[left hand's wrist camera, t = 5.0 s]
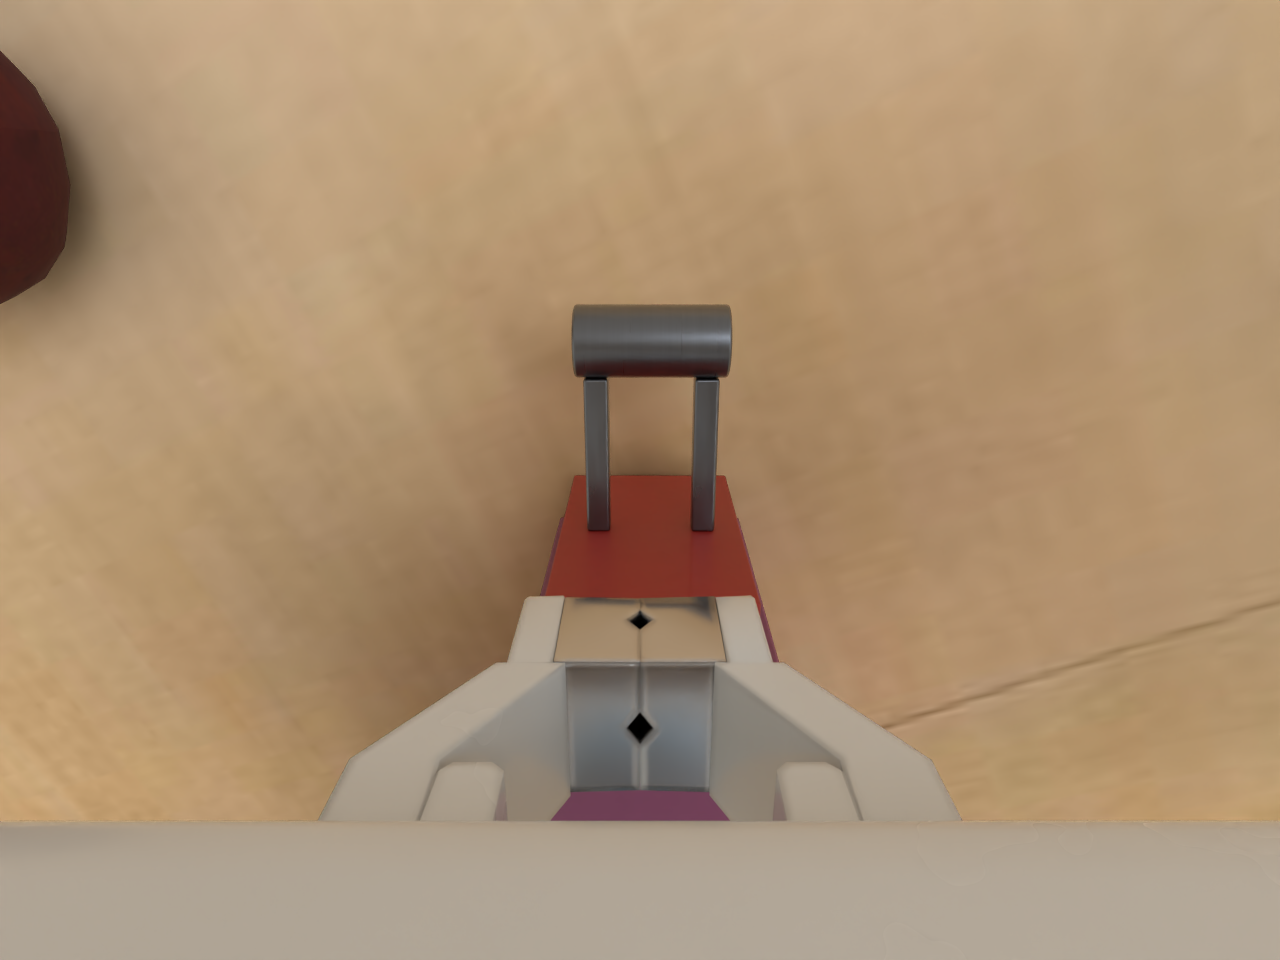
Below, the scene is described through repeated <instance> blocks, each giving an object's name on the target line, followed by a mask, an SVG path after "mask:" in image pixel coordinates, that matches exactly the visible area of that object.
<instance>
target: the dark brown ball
mask: <svg viewBox="0 0 1280 960" xmlns="http://www.w3.org/2000/svg"><path fill="white" fill-rule="evenodd" d="M69 194H70V182H69V177H68V172H67V168H66V163H65V158H64V153H63V149H62V144H61V139H60V135H59V130H58V128H57V126H56V124H55V122H54V121H53V119H52V117H51V115H50V113H49V112H48V110H47V108H46V106H45V104H44V103H43V101H42V99H41V97H40V95H39V94H38V92H37V90H36V88H35V86H34V85H33V84H32V83H31V82H30V81H29V80H28V79H27V78H26V77H25V76H24V75H23V74H22V73H21V72H20V71H19V70H18V69H17V67H16V66H15V65H14V64H13V63H12V62H11V61H10V60H9V59H8V58H7V57H6V56H5V55H4V54H3V53H2V52H1V51H0V304H1V303H3V302H5V301H7V300H9V299H11V298H13V297H15V296H17V295H19V294H20V293H22V292H24V291H25V290H27V289H28V288H30V287H32V286H33V285H35V284H36V283H38V282H40V281H41V280H43V279H44V278H45V277H46V276H47V274H48V272H49V271H50V269H51V268H52V266H53V264H54V263H55V261H56V260H57V258H58V256H59V255H60V253H61V252H62V250H63V249H64V245H65V239H66V233H67V221H68V208H69Z"/></svg>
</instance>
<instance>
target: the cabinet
mask: <svg viewBox="0 0 1280 960" xmlns="http://www.w3.org/2000/svg"><path fill="white" fill-rule="evenodd" d="M563 521H564V517H562V518H561V519H560V522H559V526H558V529H557V533H556V536H555V540H554V544H553V548H552V552H551V556H550V560H549V564H548V567H547V571H546V575H545V579H544V583H543V587H542V591H541V594H540V596H545V593H546V589H547V585H548V581H549V577H550V573H551V569H552V565H553V561H554V557H555V553H556V549H557V545H558V541H559V537H560V533H561V529H562V525H563ZM737 521H738V524H739V528H740V531H741V535H742V539H743V542H744V546H745V549H746V553H747V557H748V560H749V564H750V567H751V571H752V574H753V578H754V582H755V585H756V589H757V592H758V596H759V600H760V603H761V611H760V618H761V622H762V625H763V629H764V632H765V636H766V639H767V643H768V646H769V650H770V653H771V657H772V660H773V662H779V660H778V657H777V653H776V650H775V646H774V643H773V639H772V636H771V632H770V629H769V625H768V621H767V618H766V614H765V611H764V607H763V604H762V600H761V597H760V593H759V590H758V586H757V583H756V579H755V576H754V572H753V568H752V565H751V561H750V558H749V554H748V551H747V547H746V544H745V540H744V537H743V533H742V530H741V526H740V523H739V520H738V518H737ZM570 793H571V796H570V797H569V798H568V800H567V801H566V802H565V803H564V805H563V806H562V807H561V808H560V809H559V811H558V812H557V813H556V814H555V815H554V817H553V818H552V819H551V820H550V821H730V820H729V819H728V817H727V816H726V815H725V814H724V812H723V811H722V810H721V809H720V808H719V806H718V805H717V804H716V803H715V801H714V800H713V799H712V798H711V797H710V795H709V794H710V792H685V791H648V790H630V791H594V792H570Z"/></svg>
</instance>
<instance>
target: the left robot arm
mask: <svg viewBox="0 0 1280 960" xmlns="http://www.w3.org/2000/svg"><path fill="white" fill-rule="evenodd" d="M630 790H648V791H685V792H710V794H709V795H710V797H711V798H712V799H713V800H714V801H715V803H716V804H717V805H718V806H719V808H720V809H721V810H722V811H723V812H724V814H725V815H726V816H727V817H728V819H729V820H730V821H550V820H551V819H552V818H553V817H554V815H555V814H556V813H557V812H558V811H559V809H560V808H561V807H562V806H563V805H564V803H565V802H566V801H567V800H568V798H569V797H570V796H571V793H570V792H594V791H630ZM0 960H1280V821H962V819H961V817H960V815H959V813H958V811H957V809H956V807H955V805H954V803H953V801H952V799H951V797H950V795H949V793H948V791H947V789H946V787H945V785H944V784H943V782H942V780H941V778H940V776H939V774H938V772H937V770H936V768H935V766H934V764H933V762H932V760H931V759H929V758H928V757H926V756H925V755H923V754H922V753H920V752H919V751H917V750H916V749H914V748H913V747H911V746H909V745H908V744H906V743H905V742H903V741H902V740H900V739H899V738H897V737H896V736H894V735H893V734H891V733H890V732H888V731H887V730H885V729H884V728H882V727H881V726H879V725H878V724H876V723H875V722H873V721H872V720H870V719H869V718H867V717H866V716H864V715H863V714H861V713H860V712H858V711H857V710H855V709H853V708H852V707H850V706H849V705H847V704H846V703H844V702H843V701H841V700H840V699H838V698H837V697H835V696H834V695H832V694H831V693H829V692H828V691H826V690H825V689H823V688H822V687H820V686H819V685H817V684H816V683H814V682H813V681H811V680H810V679H808V678H807V677H805V676H804V675H802V674H801V673H799V672H797V671H796V670H794V669H793V668H791V667H790V666H788V665H787V664H785V663H779V662H773V660H772V657H771V653H770V650H769V646H768V643H767V639H766V636H765V632H764V629H763V625H762V622H761V618H760V615H759V612H758V608H757V605H756V601H755V598H754V597H752V596H751V595H748V596H726V597H714V596H706V597H664V598H626V597H572V596H567V597H566V598H565V597H564V596H529V597H527V598H526V599H525V600H524V604H523V607H522V611H521V614H520V618H519V621H518V625H517V628H516V632H515V635H514V639H513V642H512V646H511V649H510V653H509V656H508V660H507V662H501V663H495V664H493V665H492V666H490V667H489V668H487V669H485V670H484V671H482V672H481V673H479V674H478V675H476V676H475V677H473V678H472V679H470V680H469V681H467V682H466V683H464V684H463V685H461V686H460V687H458V688H457V689H455V690H454V691H452V692H451V693H449V694H447V695H446V696H444V697H443V698H441V699H440V700H438V701H437V702H435V703H434V704H432V705H431V706H429V707H428V708H426V709H425V710H423V711H422V712H420V713H419V714H417V715H416V716H414V717H413V718H411V719H409V720H408V721H406V722H405V723H403V724H402V725H400V726H399V727H397V728H396V729H394V730H393V731H391V732H390V733H388V734H387V735H385V736H384V737H382V738H381V739H379V740H378V741H376V742H374V743H373V744H371V745H370V746H368V747H367V748H365V749H364V750H362V751H361V752H359V753H358V754H356V755H355V756H353V757H352V758H350V759H349V761H348V763H347V765H346V767H345V769H344V770H343V772H342V774H341V776H340V778H339V780H338V782H337V784H336V786H335V788H334V790H333V792H332V794H331V796H330V798H329V799H328V801H327V803H326V805H325V807H324V809H323V811H322V813H321V815H320V817H319V819H318V821H0Z"/></svg>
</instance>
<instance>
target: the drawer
mask: <svg viewBox="0 0 1280 960" xmlns="http://www.w3.org/2000/svg"><path fill="white" fill-rule="evenodd" d="M731 356H732V316H731V310H730V307H729V306H728V305H575V306H574V308H573V314H572V361H573V370H574V374H575V376H576V377H585V378H584V381H583V387H584V425H585V462H586V475H576V476H574V480H573V484H572V488H571V492H570V496H569V500H568V504H567V508H566V512H565V516H564V521H563V525H562V529H561V533H560V537H559V541H558V545H557V549H556V553H555V557H554V561H553V565H552V569H551V573H550V577H549V581H548V585H547V589H546V593H545V596H564V597H565V598H566V597H567V596H572V597H626V598H664V597H706V596H714V597H726V596H748V595H751V596H752V597H754V598H755V601H756V605H757V608H758V612H759V615H760V611H761V603H760V600H759V596H758V592H757V589H756V585H755V582H754V578H753V574H752V571H751V567H750V564H749V560H748V557H747V553H746V549H745V546H744V542H743V539H742V535H741V531H740V528H739V524H738V521H737V517H736V513H735V510H734V506H733V503H732V499H731V496H730V492H729V488H728V485H727V481H726V478H725V476H716V466H717V439H718V412H719V385H720V381H719V379H718V377H727V376H728V374H729V371H730V366H731ZM609 377H694V386H693V427H692V467H691V476H610V417H609Z"/></svg>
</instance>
